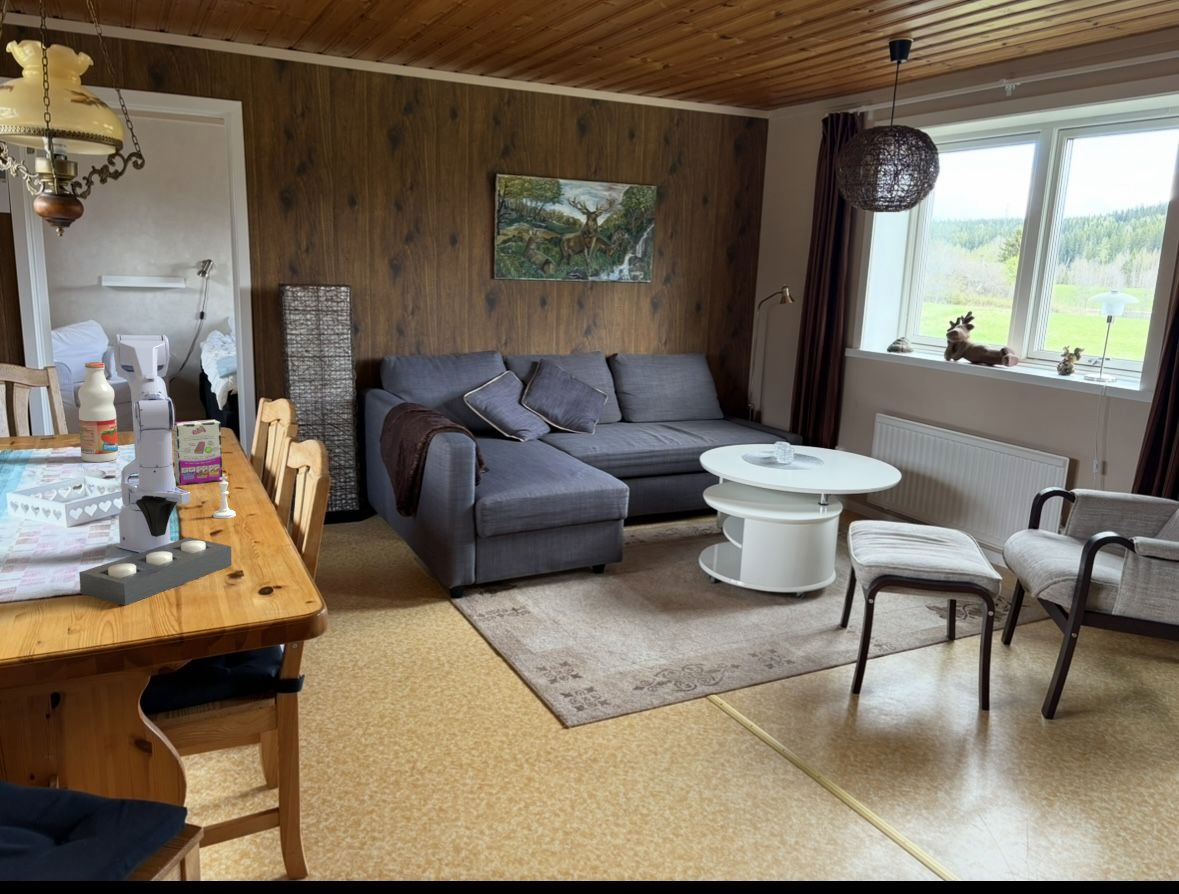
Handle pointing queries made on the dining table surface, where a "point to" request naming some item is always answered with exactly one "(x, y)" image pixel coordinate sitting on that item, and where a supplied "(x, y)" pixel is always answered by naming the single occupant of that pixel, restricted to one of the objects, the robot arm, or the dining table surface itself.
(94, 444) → the fruit juice
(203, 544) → the knob
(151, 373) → the robot arm
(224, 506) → the chess piece
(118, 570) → the knob
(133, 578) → the knob mount
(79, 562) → the dining table surface
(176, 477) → the candy bar box
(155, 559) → the knob middle
